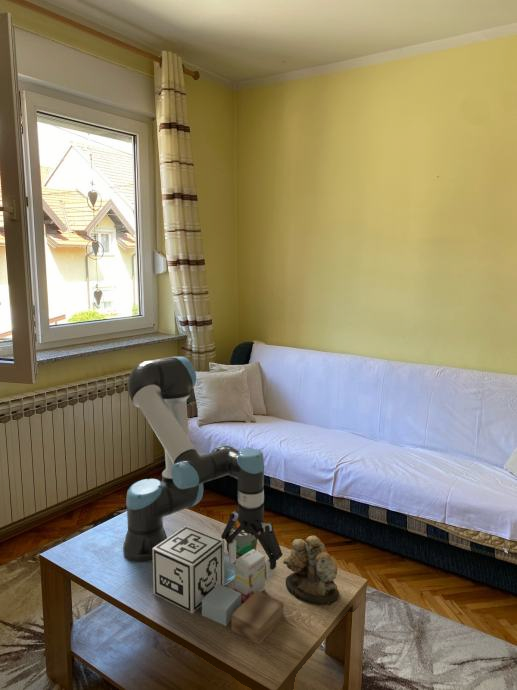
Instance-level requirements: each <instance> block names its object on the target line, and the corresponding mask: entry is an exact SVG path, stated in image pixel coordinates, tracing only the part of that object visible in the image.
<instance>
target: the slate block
mask: <svg viewBox="0 0 517 690" xmlns="http://www.w3.org/2000/svg"><path fill="white" fill-rule="evenodd" d="M241 605H242V601H241V593H239V592H236V591H235V589H231V588H229V587H226V586H225V585H223V586H222V585H219V584H218V585H217V586H216V587H215V588H214V589H213V590H212V591H211V592H210V593H209V594H208V595H206V596H205V597H204V598H203V599H202V605H201V616H203V617H204V618H206V619H209V620H211V621H213V622H216V623H218V624H219V625H220V624H221V625H223V626H225V627H226V626H227V625H228V624H229V623H230V622H232V614H233V613H234V612H235V611H236V610H237V609H238V608H239V607H240V606H241Z"/></svg>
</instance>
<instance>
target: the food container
mask: <svg viewBox="0 0 517 690" xmlns="http://www.w3.org/2000/svg"><path fill="white" fill-rule="evenodd" d="M226 525H227V523H226ZM226 525H225V526H224V529H225V528H226ZM237 528H238V527H236V526H233V528H232V530H231V532H230V534H229V535H231V534H232V533H233V532H234V531H235V530H236V529H237ZM258 534H260V532H259V533H258ZM233 540H236V559H238V558H239V557H241V556H243V555H244V554H246V553H248V552H249V551H251V550H252V549H255V550H257V543H258V539H256V538H255V536H254V535H251V534H249V533H245V531H244V530H242V531H241V532H240V533H239V534H238V535H237V536H236V537H235V538H234V539H233ZM227 553H228V554H227V555H228V556H229V552H228V551H227Z"/></svg>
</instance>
